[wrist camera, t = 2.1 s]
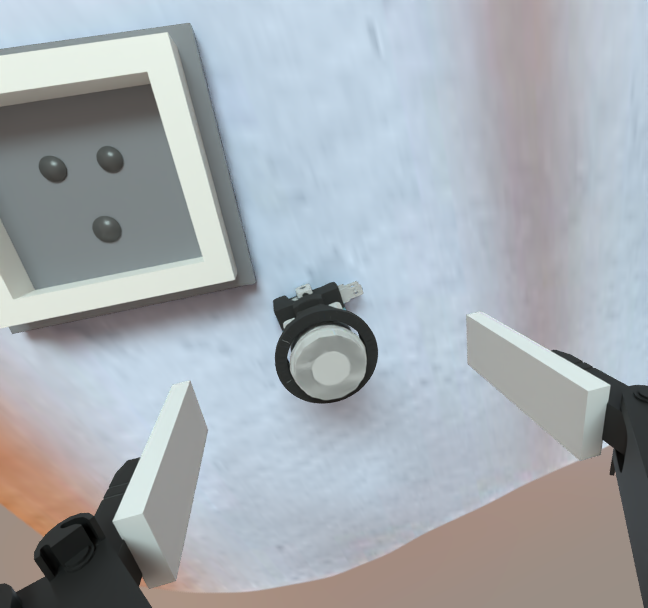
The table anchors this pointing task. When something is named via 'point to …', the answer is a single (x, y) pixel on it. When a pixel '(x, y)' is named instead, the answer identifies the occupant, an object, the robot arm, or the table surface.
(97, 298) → the socket plate
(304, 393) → the push button
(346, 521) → the table surface
